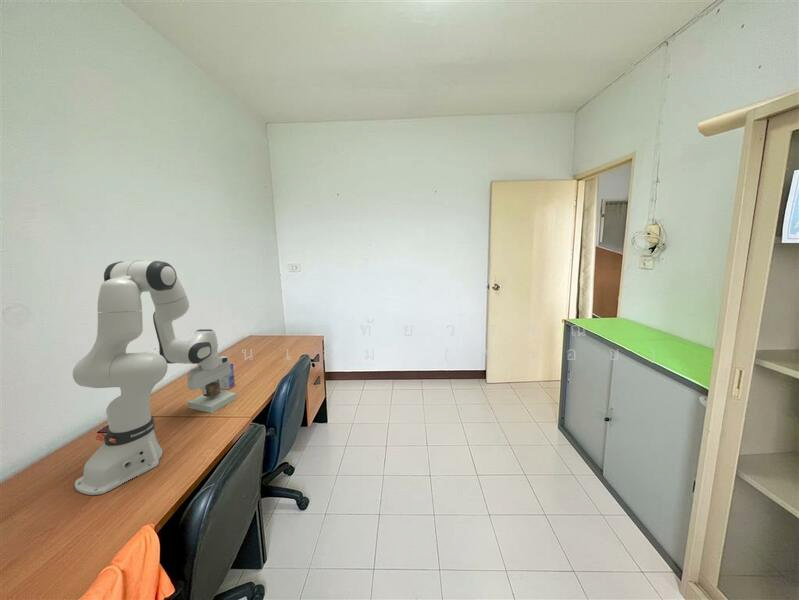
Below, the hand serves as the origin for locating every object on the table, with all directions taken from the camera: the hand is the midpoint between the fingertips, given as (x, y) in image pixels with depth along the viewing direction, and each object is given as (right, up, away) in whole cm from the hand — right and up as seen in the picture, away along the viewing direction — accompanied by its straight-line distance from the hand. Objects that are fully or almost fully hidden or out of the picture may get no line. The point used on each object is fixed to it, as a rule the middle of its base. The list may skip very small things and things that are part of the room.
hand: (211, 390), depth 148 cm
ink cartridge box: (-5, -4, +18) cm, 19 cm away
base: (0, -6, +1) cm, 6 cm away
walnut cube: (0, -2, 0) cm, 2 cm away
